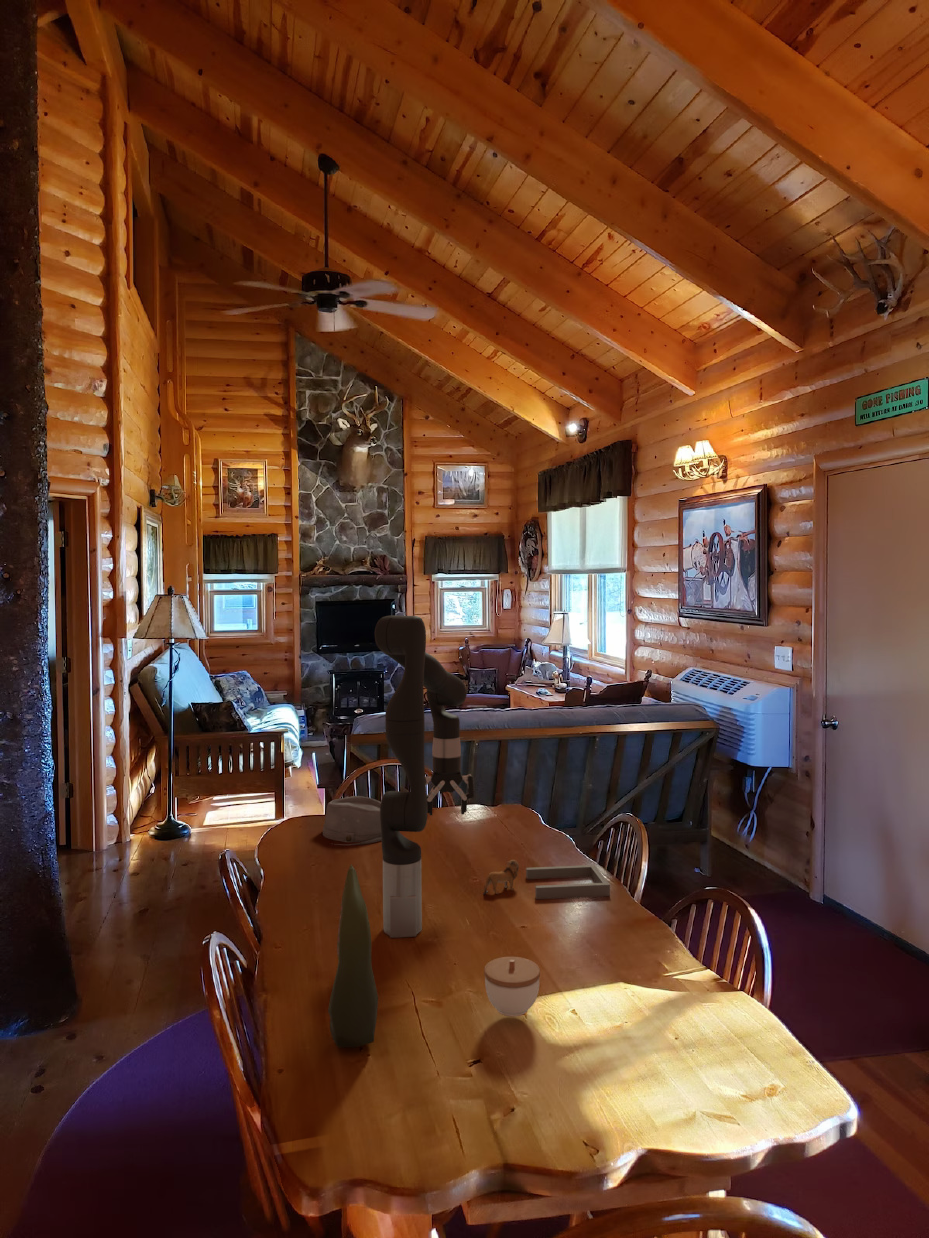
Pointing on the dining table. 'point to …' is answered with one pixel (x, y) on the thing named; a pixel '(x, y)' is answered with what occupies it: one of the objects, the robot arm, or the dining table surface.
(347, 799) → the fedora
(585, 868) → the bay
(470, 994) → the dining table surface
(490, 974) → the lidded jar
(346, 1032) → the tentacle
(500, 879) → the lion figurine
